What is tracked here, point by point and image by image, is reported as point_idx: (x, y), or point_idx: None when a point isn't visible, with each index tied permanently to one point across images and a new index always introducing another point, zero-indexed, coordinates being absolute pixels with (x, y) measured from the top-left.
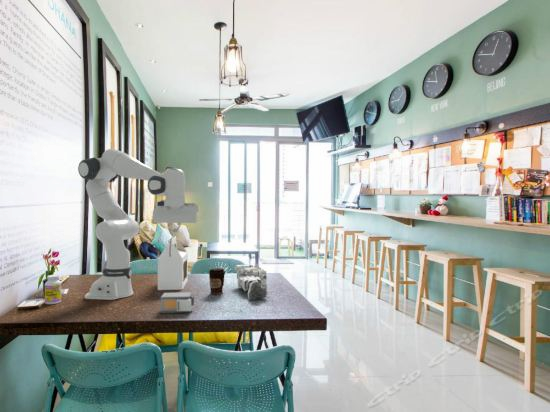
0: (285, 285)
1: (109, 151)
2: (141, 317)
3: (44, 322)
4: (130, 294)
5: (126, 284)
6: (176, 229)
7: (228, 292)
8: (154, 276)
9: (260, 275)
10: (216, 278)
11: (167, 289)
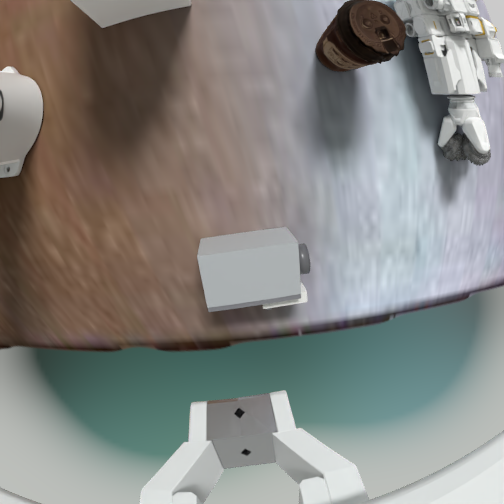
0: (487, 19)
1: None
2: (173, 319)
3: (16, 345)
4: (39, 118)
5: (11, 128)
6: (272, 455)
7: None
8: None
9: (487, 58)
10: (368, 64)
11: (135, 17)
